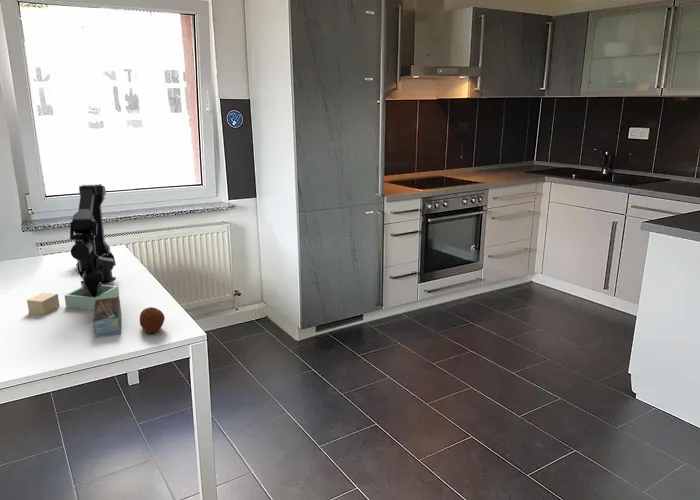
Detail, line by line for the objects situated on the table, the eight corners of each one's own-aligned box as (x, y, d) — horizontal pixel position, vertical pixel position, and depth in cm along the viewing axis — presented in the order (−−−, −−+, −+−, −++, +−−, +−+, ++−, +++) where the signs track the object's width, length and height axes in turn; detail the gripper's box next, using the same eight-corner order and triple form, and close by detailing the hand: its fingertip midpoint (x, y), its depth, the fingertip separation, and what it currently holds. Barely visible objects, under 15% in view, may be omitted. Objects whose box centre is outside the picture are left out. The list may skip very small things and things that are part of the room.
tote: (89, 294, 202) (87, 283, 200) (119, 297, 199) (118, 286, 198) (66, 307, 190) (64, 295, 189) (97, 310, 188) (96, 298, 186)
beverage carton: (94, 338, 166) (91, 319, 164) (96, 316, 183) (94, 298, 181) (121, 334, 169) (119, 315, 167) (121, 312, 186) (119, 295, 184)
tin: (82, 299, 195) (80, 281, 193) (100, 296, 198) (98, 278, 197) (85, 304, 190) (82, 285, 189) (103, 301, 194) (101, 282, 192)
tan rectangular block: (45, 305, 192) (43, 292, 190) (59, 307, 190) (57, 293, 189) (29, 313, 184) (26, 300, 183) (44, 315, 183) (42, 301, 182)
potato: (158, 321, 179) (156, 299, 177) (171, 333, 170) (169, 310, 168) (135, 327, 174) (133, 304, 172) (146, 339, 166) (144, 315, 164)
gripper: (116, 255, 186) (121, 296, 191) (106, 243, 201) (111, 282, 205) (81, 260, 180) (87, 303, 185) (73, 247, 195) (79, 287, 199)
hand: (92, 293), depth 194 cm, fingers open, 9 cm apart
